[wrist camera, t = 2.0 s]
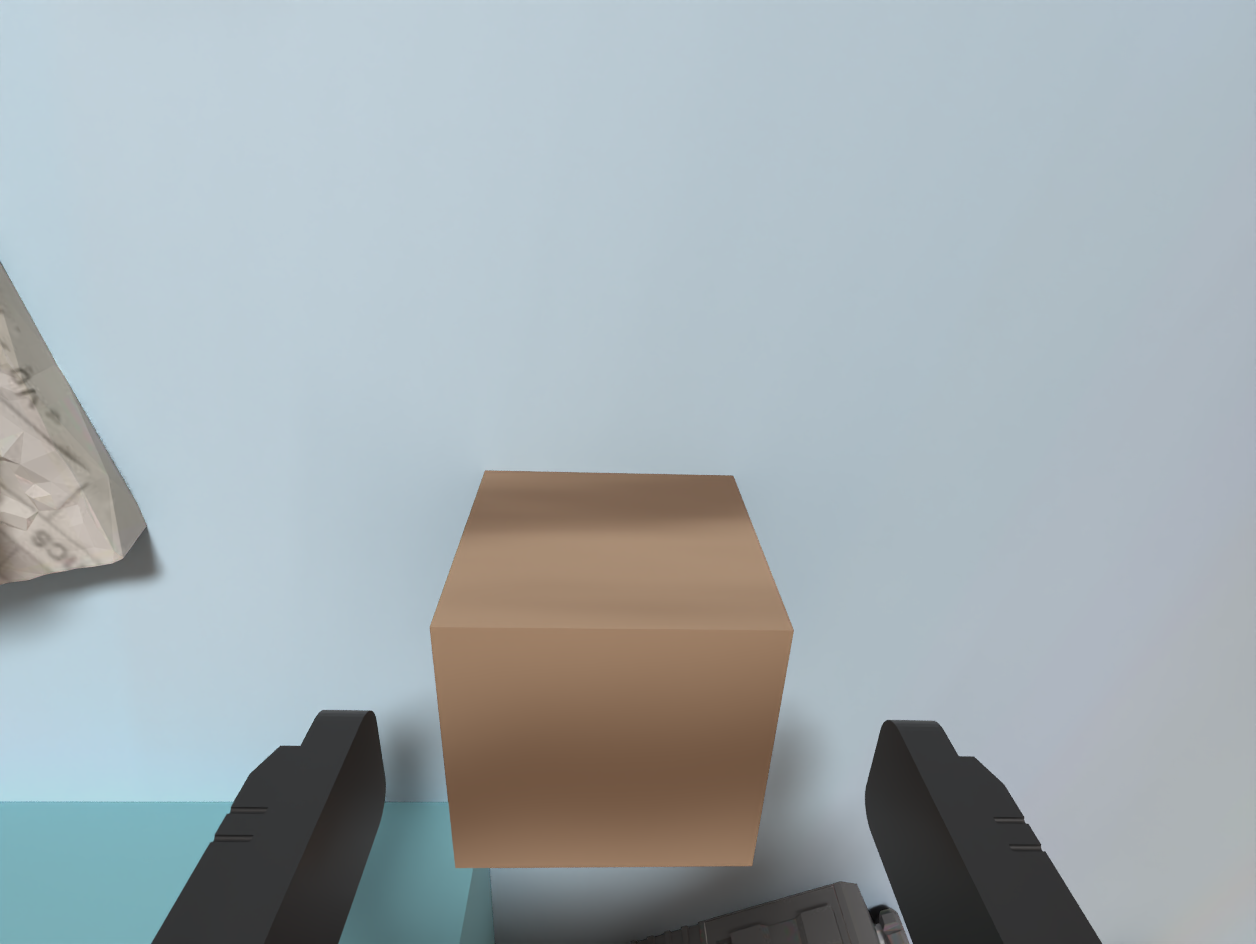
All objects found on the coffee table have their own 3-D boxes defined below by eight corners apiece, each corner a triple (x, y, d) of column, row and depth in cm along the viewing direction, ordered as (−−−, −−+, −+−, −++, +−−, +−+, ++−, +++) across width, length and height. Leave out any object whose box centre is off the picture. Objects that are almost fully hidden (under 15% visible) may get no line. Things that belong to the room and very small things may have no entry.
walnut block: (485, 469, 14) (429, 627, 9) (732, 473, 14) (794, 630, 10) (496, 663, 16) (455, 868, 12) (710, 665, 16) (752, 865, 12)
